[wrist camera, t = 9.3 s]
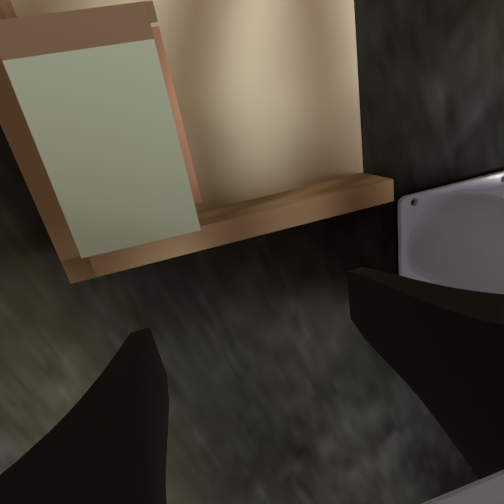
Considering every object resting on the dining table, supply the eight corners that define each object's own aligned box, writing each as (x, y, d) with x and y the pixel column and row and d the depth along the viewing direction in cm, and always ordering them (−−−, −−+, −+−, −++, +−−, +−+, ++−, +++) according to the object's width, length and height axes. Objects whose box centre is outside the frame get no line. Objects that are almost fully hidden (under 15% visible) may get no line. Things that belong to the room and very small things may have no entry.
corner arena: (338, -180, 15) (384, -264, 12) (360, 190, 21) (394, 201, 18) (-80, -154, 12) (-166, -252, 9) (87, 257, 19) (70, 283, 16)
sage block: (191, 200, 18) (200, 230, 13) (108, 219, 18) (81, 258, 12) (152, 46, 16) (145, 1, 10) (52, 61, 15) (-14, 21, 10)
